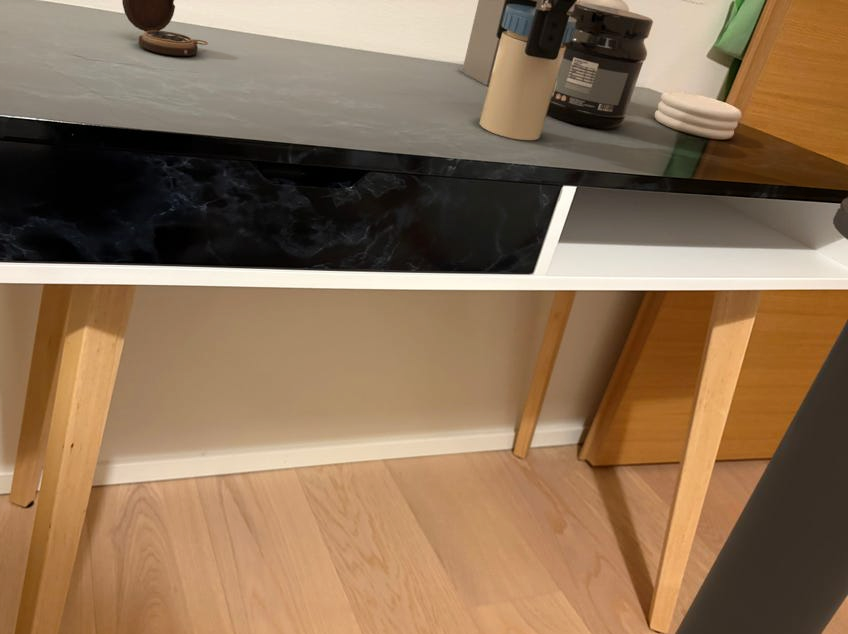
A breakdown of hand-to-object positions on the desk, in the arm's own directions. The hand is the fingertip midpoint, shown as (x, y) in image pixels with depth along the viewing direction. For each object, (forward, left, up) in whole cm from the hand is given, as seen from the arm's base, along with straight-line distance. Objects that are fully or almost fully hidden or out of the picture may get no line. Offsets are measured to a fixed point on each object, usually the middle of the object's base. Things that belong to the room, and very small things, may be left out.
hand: (525, 47), depth 79 cm
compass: (+17, +33, -8) cm, 38 cm away
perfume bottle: (+26, -9, -8) cm, 29 cm away
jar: (0, -1, -8) cm, 8 cm away
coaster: (+14, -32, -8) cm, 36 cm away
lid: (0, -1, +3) cm, 3 cm away
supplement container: (+11, -14, -8) cm, 20 cm away
